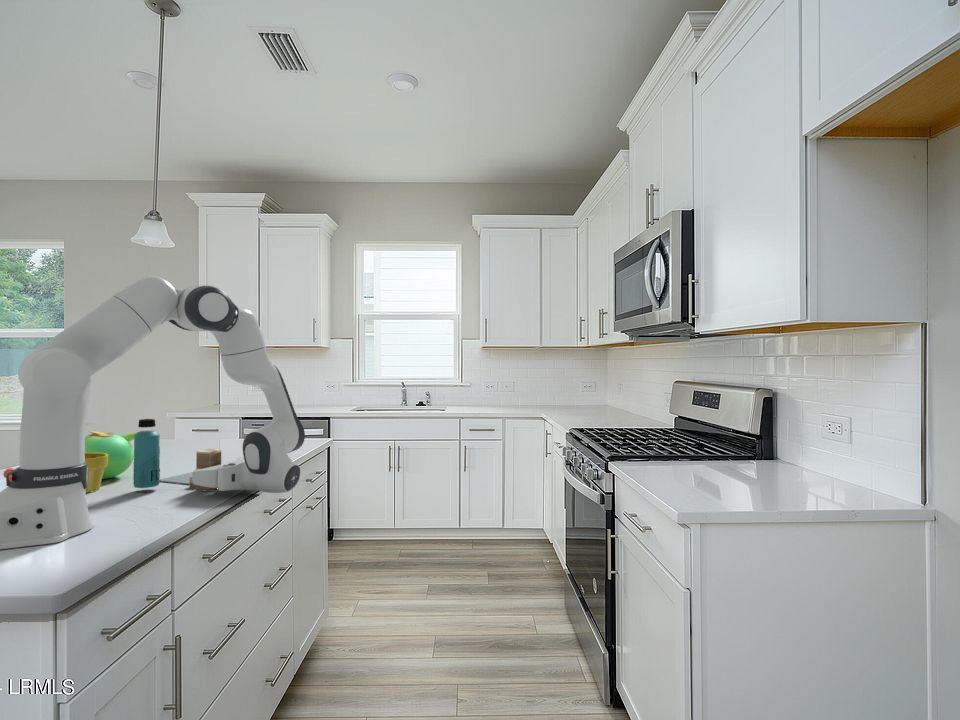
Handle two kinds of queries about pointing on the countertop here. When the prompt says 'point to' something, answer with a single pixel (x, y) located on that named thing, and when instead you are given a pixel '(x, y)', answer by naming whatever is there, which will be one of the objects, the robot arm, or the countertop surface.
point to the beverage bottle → (146, 456)
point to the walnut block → (207, 462)
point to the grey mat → (178, 479)
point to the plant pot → (95, 469)
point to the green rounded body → (112, 450)
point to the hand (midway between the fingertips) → (206, 469)
